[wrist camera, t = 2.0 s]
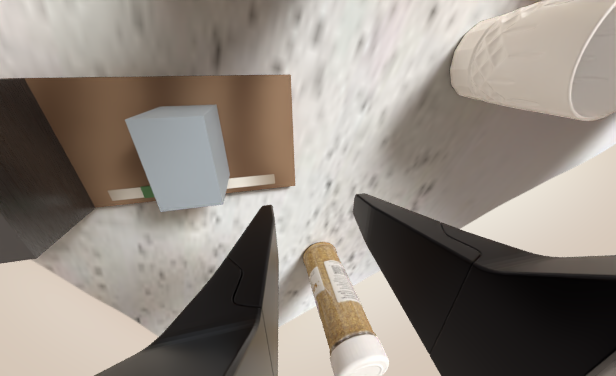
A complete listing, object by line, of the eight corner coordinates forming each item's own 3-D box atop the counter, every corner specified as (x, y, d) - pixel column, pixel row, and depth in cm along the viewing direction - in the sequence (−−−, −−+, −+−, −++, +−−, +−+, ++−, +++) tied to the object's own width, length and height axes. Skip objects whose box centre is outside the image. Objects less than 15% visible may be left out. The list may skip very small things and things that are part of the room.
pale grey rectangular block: (216, 104, 17) (203, 115, 13) (233, 193, 21) (228, 227, 16) (160, 106, 16) (124, 119, 12) (188, 198, 20) (169, 235, 16)
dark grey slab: (24, 78, 14) (-106, 81, 9) (95, 207, 19) (36, 258, 14) (-24, 78, 14) (-190, 82, 9) (61, 211, 18) (-14, 265, 13)
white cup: (440, 111, 23) (551, 135, 15) (447, 21, 19) (605, -21, 11) (505, 92, 24) (648, 103, 15) (525, 1, 20) (732, -53, 11)
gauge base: (288, 74, 18) (290, 74, 17) (293, 181, 23) (295, 186, 22) (-17, 78, 15) (-37, 79, 14) (62, 205, 19) (53, 212, 18)
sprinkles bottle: (295, 254, 28) (326, 384, 16) (324, 234, 27) (376, 352, 16) (315, 271, 30) (354, 396, 19) (342, 253, 30) (399, 369, 18)
